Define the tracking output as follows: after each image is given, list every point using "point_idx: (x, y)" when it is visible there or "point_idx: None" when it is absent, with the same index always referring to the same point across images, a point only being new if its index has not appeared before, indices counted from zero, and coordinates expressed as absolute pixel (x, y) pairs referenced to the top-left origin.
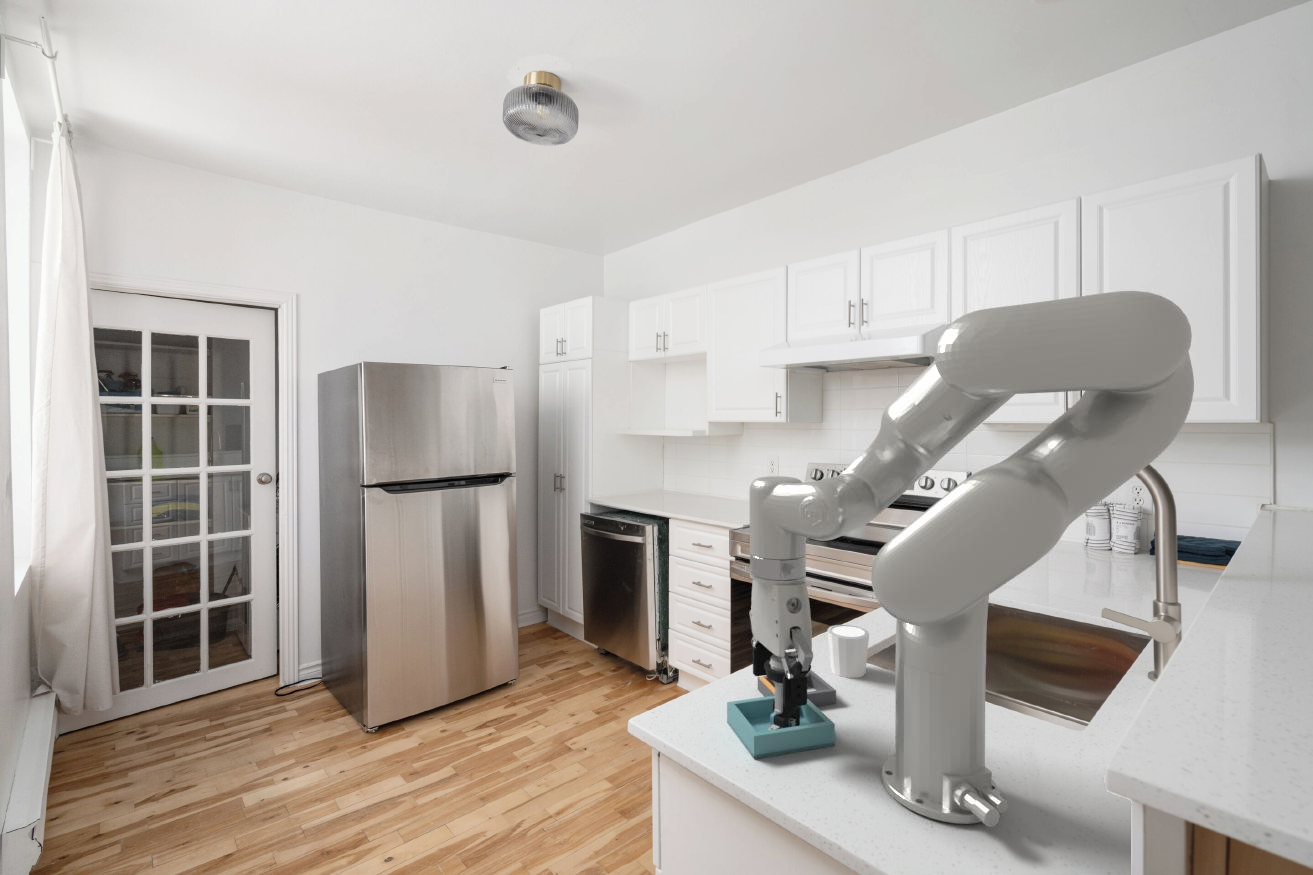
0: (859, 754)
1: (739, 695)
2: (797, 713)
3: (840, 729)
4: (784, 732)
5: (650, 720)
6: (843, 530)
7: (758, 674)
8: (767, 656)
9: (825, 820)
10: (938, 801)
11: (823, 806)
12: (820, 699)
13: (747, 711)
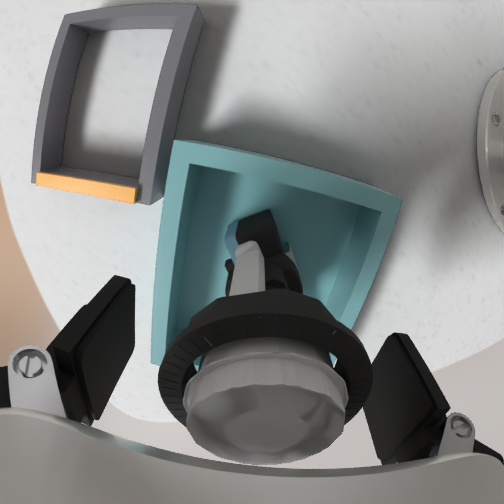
0: (427, 167)
1: (63, 235)
2: (276, 232)
3: (328, 109)
4: None
5: (122, 407)
6: None
7: (133, 342)
8: (101, 358)
9: (463, 344)
10: None
11: (453, 332)
12: (186, 59)
13: (173, 313)
